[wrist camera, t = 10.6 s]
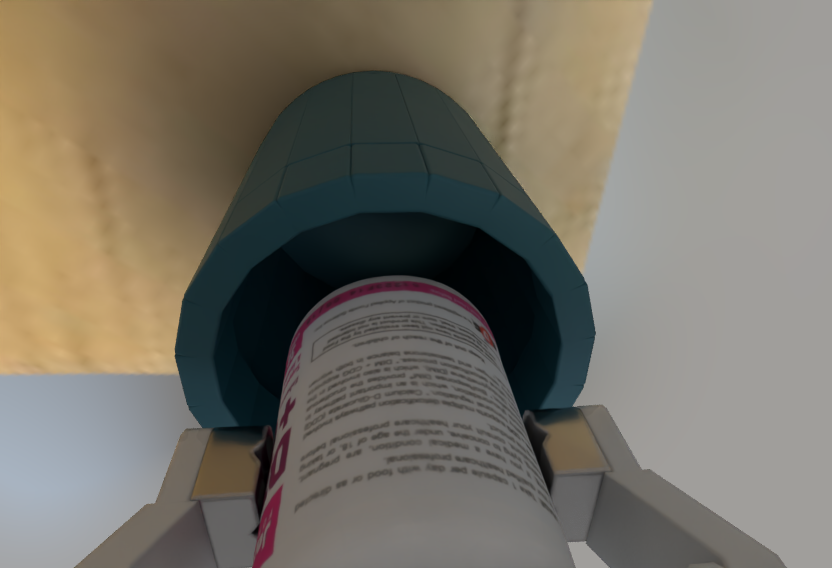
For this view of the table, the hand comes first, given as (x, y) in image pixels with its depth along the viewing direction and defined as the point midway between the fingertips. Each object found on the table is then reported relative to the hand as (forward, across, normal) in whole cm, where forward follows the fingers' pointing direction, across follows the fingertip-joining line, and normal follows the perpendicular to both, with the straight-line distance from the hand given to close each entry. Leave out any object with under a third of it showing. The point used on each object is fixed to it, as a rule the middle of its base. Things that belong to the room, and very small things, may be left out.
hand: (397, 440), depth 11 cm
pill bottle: (+3, 0, 0) cm, 3 cm away
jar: (+13, 0, 0) cm, 13 cm away
